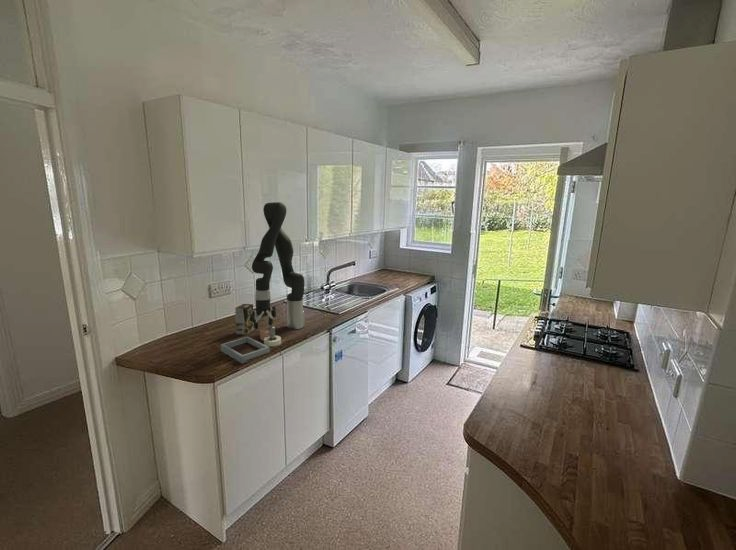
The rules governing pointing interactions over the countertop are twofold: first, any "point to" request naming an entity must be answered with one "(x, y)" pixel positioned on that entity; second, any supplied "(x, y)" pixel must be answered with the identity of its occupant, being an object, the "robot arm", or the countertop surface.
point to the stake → (272, 334)
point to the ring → (266, 338)
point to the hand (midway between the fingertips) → (263, 327)
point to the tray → (244, 358)
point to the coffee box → (244, 319)
